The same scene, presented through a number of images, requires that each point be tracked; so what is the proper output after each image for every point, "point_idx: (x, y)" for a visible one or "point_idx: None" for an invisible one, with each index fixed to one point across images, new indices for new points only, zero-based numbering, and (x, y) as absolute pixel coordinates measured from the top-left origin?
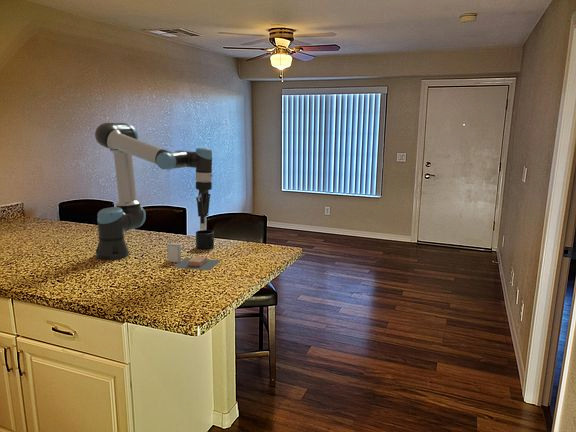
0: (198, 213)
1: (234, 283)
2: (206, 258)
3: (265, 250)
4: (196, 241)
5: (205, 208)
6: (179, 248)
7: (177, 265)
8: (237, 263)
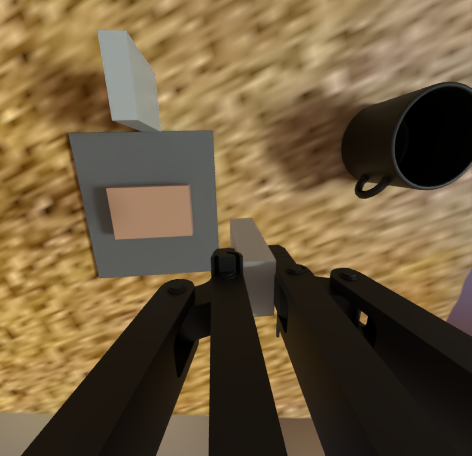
0: (147, 309)
1: (35, 372)
2: (184, 234)
3: None
4: (378, 108)
5: (305, 387)
6: (124, 123)
7: (99, 143)
8: None
